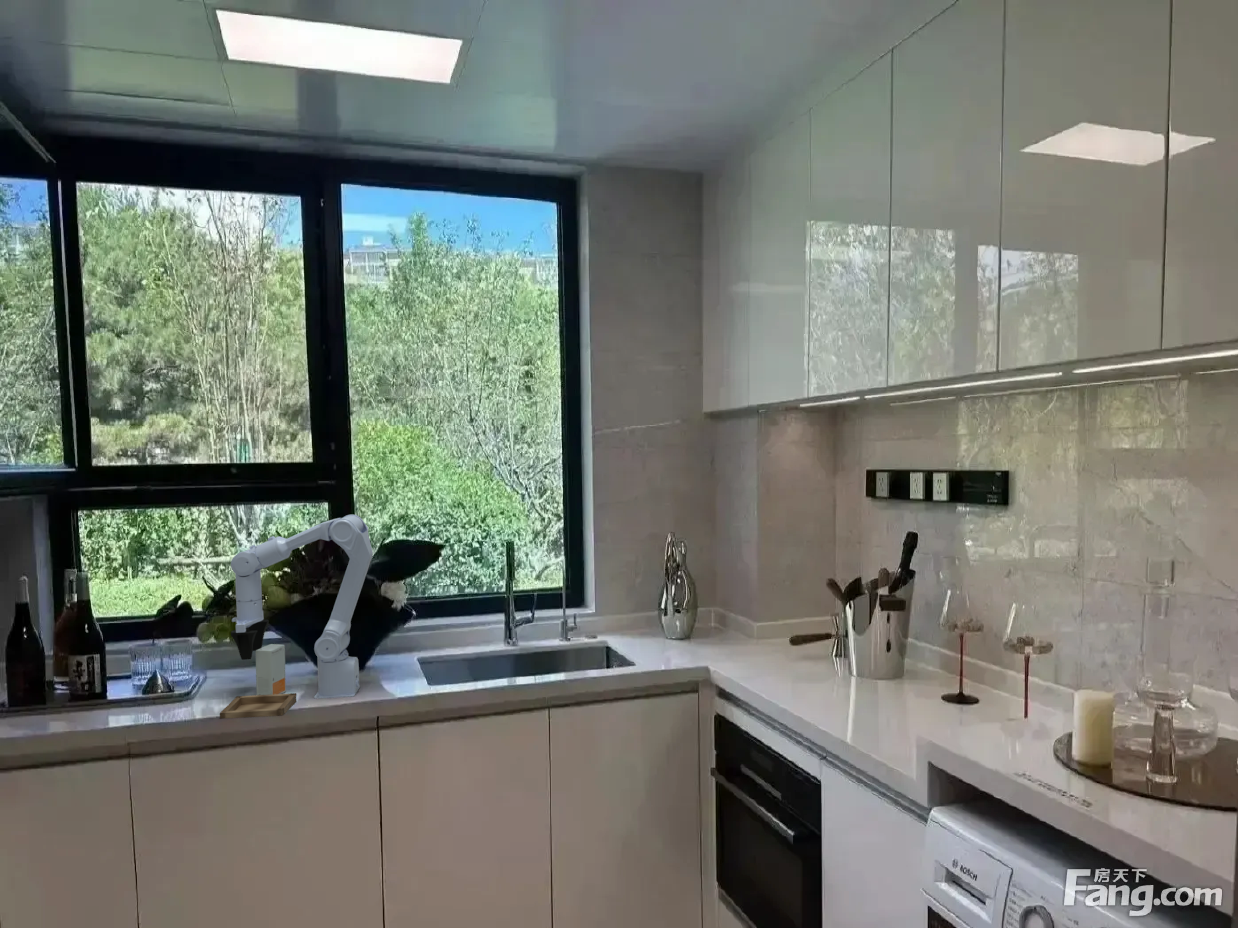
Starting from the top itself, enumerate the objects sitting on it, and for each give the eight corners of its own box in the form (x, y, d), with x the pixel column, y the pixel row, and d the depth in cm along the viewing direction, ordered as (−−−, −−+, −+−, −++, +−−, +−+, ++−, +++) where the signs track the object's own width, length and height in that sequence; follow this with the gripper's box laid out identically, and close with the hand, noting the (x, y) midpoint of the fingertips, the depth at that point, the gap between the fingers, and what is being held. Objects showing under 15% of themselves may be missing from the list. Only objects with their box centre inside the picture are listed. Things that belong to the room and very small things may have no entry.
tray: (296, 703, 195) (296, 693, 195) (283, 720, 183) (282, 709, 183) (237, 706, 193) (237, 696, 193) (220, 724, 182) (219, 713, 182)
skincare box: (272, 699, 198) (270, 650, 197) (256, 698, 198) (254, 650, 198) (287, 691, 204) (285, 644, 203) (271, 690, 204) (269, 643, 204)
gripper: (241, 594, 206) (244, 647, 207) (221, 606, 192) (223, 664, 192) (271, 592, 207) (273, 645, 208) (252, 605, 192) (255, 662, 193)
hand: (251, 654), depth 200 cm, fingers open, 7 cm apart
